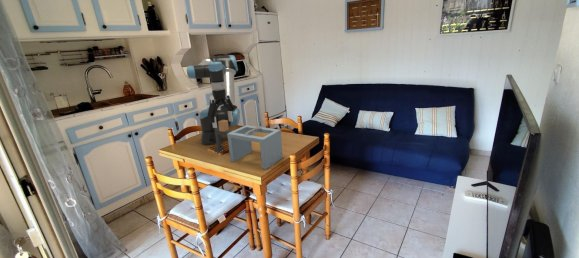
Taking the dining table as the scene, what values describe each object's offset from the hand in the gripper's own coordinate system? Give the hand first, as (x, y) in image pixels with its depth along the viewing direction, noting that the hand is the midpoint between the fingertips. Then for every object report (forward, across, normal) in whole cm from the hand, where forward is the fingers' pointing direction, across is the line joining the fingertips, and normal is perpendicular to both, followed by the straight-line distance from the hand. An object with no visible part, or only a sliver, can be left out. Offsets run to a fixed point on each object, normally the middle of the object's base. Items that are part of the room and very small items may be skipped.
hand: (223, 124), depth 165 cm
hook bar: (+3, 0, -23) cm, 23 cm away
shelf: (+19, 0, -23) cm, 30 cm away
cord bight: (+19, 0, 0) cm, 19 cm away
